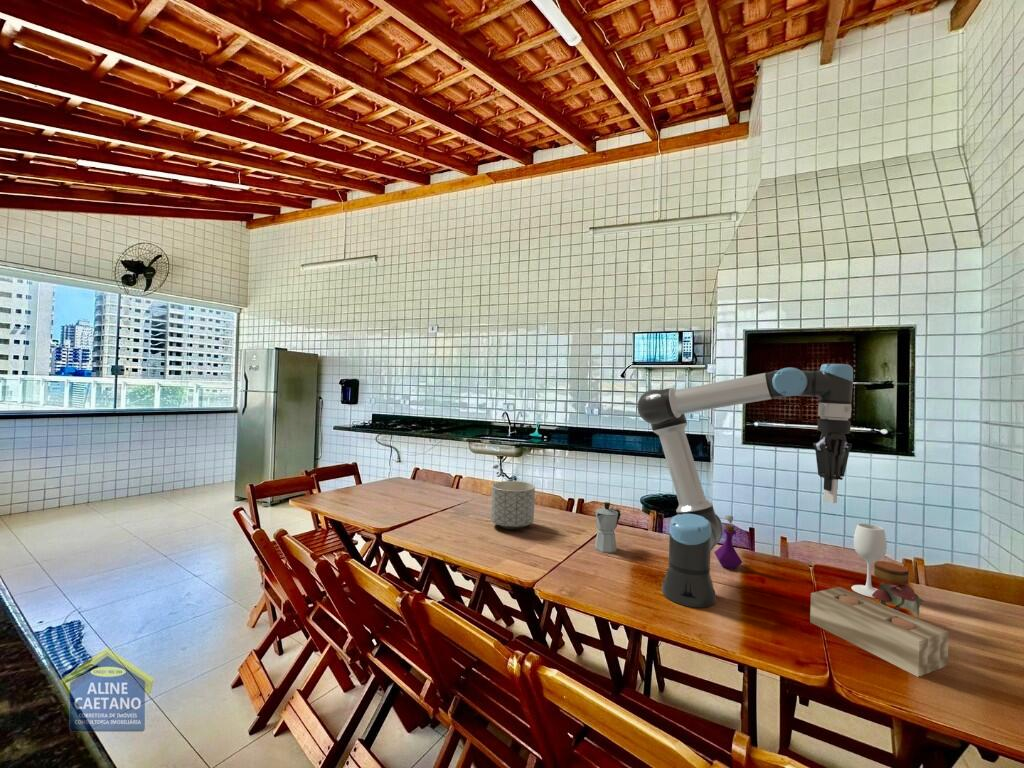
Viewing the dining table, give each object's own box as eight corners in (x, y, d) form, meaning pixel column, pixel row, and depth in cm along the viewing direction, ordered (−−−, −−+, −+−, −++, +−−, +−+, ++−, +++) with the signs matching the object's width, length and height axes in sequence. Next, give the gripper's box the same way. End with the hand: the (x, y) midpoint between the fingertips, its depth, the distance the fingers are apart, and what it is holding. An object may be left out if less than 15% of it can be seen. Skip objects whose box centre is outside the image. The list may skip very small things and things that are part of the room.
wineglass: (878, 601, 134) (880, 532, 134) (845, 589, 142) (847, 524, 142) (891, 595, 138) (893, 528, 138) (859, 584, 146) (861, 521, 146)
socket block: (918, 677, 98) (919, 641, 98) (810, 622, 120) (810, 593, 120) (947, 665, 103) (948, 631, 103) (838, 614, 125) (839, 586, 125)
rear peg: (851, 630, 114) (852, 603, 114) (835, 622, 118) (835, 596, 118) (860, 627, 116) (861, 601, 116) (844, 620, 120) (845, 594, 120)
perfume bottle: (742, 571, 153) (743, 519, 153) (719, 569, 154) (720, 518, 154) (735, 563, 160) (737, 513, 160) (713, 560, 162) (715, 512, 162)
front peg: (907, 657, 103) (907, 627, 103) (887, 647, 107) (888, 619, 107) (916, 654, 105) (917, 624, 105) (896, 644, 108) (897, 616, 108)
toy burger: (908, 636, 115) (909, 579, 115) (854, 612, 126) (856, 560, 126) (932, 627, 119) (933, 572, 119) (878, 605, 131) (879, 555, 131)
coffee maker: (604, 556, 163) (606, 507, 163) (586, 549, 170) (587, 502, 170) (628, 547, 173) (629, 501, 173) (609, 541, 179) (611, 497, 179)
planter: (507, 517, 207) (508, 479, 207) (541, 526, 196) (542, 485, 196) (481, 527, 192) (483, 485, 192) (517, 537, 180) (518, 493, 180)
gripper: (832, 419, 118) (827, 506, 118) (863, 420, 123) (859, 504, 123) (805, 417, 125) (800, 499, 125) (835, 417, 130) (831, 497, 130)
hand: (829, 501), depth 124 cm, fingers closed
